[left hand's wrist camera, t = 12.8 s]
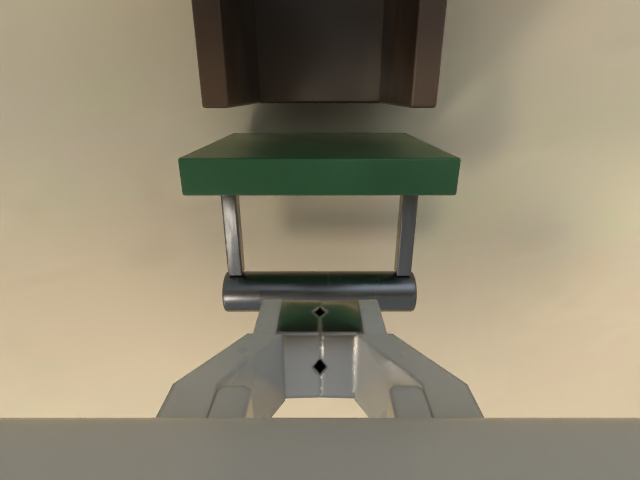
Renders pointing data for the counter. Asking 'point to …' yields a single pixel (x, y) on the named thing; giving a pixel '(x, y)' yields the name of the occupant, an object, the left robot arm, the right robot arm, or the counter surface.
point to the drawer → (319, 148)
